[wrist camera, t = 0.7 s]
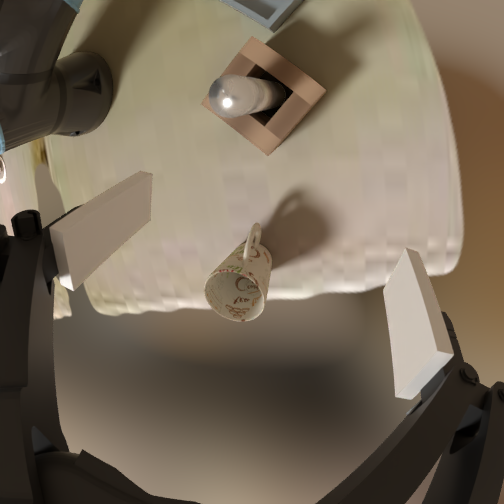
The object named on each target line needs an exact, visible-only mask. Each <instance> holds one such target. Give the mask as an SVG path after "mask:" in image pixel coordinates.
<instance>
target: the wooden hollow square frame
mask: <svg viewBox="0 0 504 504" xmlns="http://www.w3.org/2000/svg"><path fill="white" fill-rule="evenodd" d="M265 71H267V72H268V73H270V74H271V75H273V76H274V77H275V78H277V79H278V80H279V81H281V82H282V83H283V84H285V85H286V86H287V87H289V88H290V89H291V90H292V91H294V92H293V94H292V95H291V96H290V97H289V98H288V99H287V101H286V102H285V103H284V104H283V105H282V106H281V108H280V109H279V110H278V111H277V112H276V114H275V115H274V116H273V117H272V118H271V119H270V118H269V117H268V116H267V115H265V114H264V113H263V112H261V111H259V112H255V113H251V114H247V115H243V116H239V117H235V118H226V117H222V116H220V115H218V114H217V113H216V112H215V111H214V110H213V109H212V108H211V106H210V103H209V97H208V96H209V93H208V94H207V96H206V97H205V99H204V100H203V102H202V103H201V104H202V105H203V106H204V107H206V108H207V109H208V110H210V111H211V112H212V113H214V114H215V115H216V116H218V117H219V118H220V119H222V120H223V121H224V122H226V123H227V124H228V125H230V126H231V127H232V128H233V129H235V130H236V131H237V132H239V133H240V134H241V135H242V136H244V137H245V138H246V139H247V140H249V141H250V142H251V143H252V144H254V145H255V146H256V147H257V148H259V149H260V150H261V151H262V152H264V153H265V154H266V155H267V156H269V155H270V154H271V153H272V152H273V151H274V150H275V149H276V148H277V147H278V146H279V145H280V144H281V143H282V142H283V141H284V139H285V138H286V137H287V136H288V135H289V134H290V132H291V131H292V130H293V129H294V128H295V127H296V126H297V124H298V123H299V122H300V121H301V120H302V119H303V118H304V117H305V115H306V114H307V113H308V112H309V111H310V110H311V109H312V108H313V106H314V105H315V104H316V103H317V102H318V101H319V100H320V99H321V98H322V96H323V95H324V94H325V93H326V92H327V90H326V89H324V88H323V87H322V86H321V85H320V84H318V83H317V82H316V81H315V80H313V79H312V78H311V77H309V76H308V75H307V74H306V73H304V72H303V71H302V70H300V69H299V68H298V67H296V66H295V65H294V64H292V63H291V62H290V61H288V60H287V59H285V58H284V57H283V56H281V55H280V54H278V53H277V52H276V51H274V50H273V49H271V48H270V47H268V46H267V45H265V44H264V43H262V42H261V41H259V40H258V39H256V38H254V37H253V36H252V37H251V38H250V39H249V40H248V41H247V43H246V44H245V45H244V46H243V48H242V49H241V50H240V51H239V53H238V54H237V55H236V56H235V58H234V59H233V60H232V62H231V63H230V64H229V66H228V67H227V68H226V70H225V71H224V72H223V74H222V75H221V76H224V75H239V76H245V77H251V78H257V79H259V78H260V77H261V76H262V74H263V73H264V72H265ZM221 76H220V77H221Z"/></svg>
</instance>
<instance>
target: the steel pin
mask: <svg viewBox="0 0 504 504" xmlns="http://www.w3.org/2000/svg"><path fill="white" fill-rule="evenodd" d="M208 97H209V103H210V106H211V108H212V109H213V110H214V111H215V112H216V113H217V114H218V115H220V116H222V117H226V118H235V117H239V116H243V115H247V114H251V113H255V112H259V111H263V110H267V109H272V108H276V107H279V106H280V105H281V104H282V103H283V102H284V100H285V97H286V93H285V90H284V88H283V87H282V86H281V85H280V84H279V83H277V82H273V81H268V80H263V79H257V78H251V77H245V76H239V75H224V76H221V77H220V78H218V79H217V80H216V81H214V83H213V84H212V85H211V87H210V90H209V96H208Z"/></svg>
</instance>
